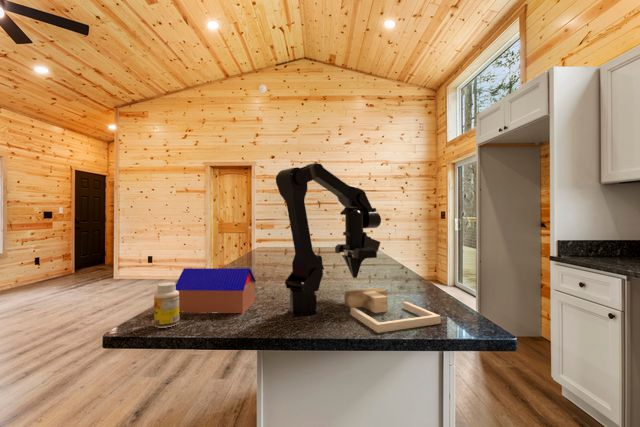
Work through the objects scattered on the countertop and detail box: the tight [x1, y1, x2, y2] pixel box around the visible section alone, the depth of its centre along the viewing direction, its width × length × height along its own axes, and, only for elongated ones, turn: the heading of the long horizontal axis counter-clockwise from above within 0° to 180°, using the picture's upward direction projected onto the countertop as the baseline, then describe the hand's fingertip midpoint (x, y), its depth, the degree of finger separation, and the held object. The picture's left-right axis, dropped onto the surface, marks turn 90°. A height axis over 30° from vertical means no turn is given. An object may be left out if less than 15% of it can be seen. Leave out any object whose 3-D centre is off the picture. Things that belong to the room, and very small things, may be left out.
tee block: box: [343, 287, 389, 314], centre depth 92 cm, size 11×12×4 cm
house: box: [175, 267, 257, 314], centre depth 94 cm, size 12×20×12 cm, turn 85°
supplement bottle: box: [153, 281, 180, 329], centre depth 78 cm, size 6×6×10 cm
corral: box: [350, 301, 442, 334], centre depth 81 cm, size 17×14×2 cm
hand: (354, 277), depth 102 cm, fingers closed
